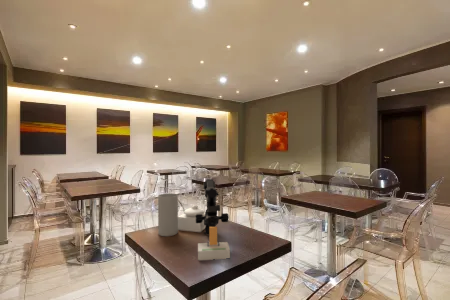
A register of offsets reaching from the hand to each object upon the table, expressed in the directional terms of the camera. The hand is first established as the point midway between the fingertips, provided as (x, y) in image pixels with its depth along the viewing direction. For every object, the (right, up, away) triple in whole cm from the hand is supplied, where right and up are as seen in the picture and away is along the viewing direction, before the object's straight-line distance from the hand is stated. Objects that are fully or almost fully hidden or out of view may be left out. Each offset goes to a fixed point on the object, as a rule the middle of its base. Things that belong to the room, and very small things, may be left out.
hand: (212, 232), depth 131 cm
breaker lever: (+1, -5, -5) cm, 7 cm away
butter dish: (-15, -10, +38) cm, 42 cm away
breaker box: (+1, -10, -6) cm, 12 cm away
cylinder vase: (-31, -10, +26) cm, 41 cm away
